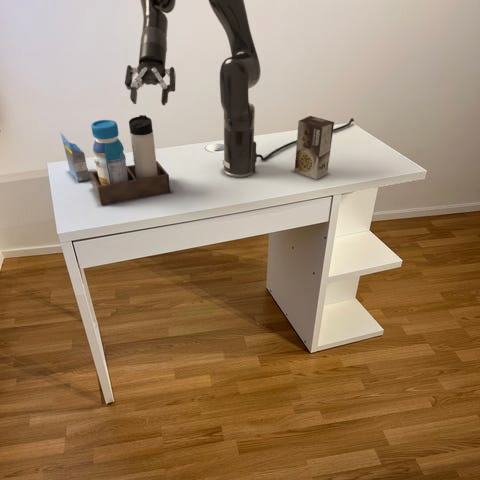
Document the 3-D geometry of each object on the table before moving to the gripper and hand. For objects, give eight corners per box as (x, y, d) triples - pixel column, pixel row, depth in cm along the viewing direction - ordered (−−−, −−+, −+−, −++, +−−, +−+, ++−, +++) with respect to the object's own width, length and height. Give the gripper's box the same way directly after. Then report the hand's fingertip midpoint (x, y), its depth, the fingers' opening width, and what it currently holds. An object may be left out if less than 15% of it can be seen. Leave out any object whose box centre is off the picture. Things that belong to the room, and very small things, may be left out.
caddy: (159, 178, 143) (157, 160, 140) (170, 192, 136) (168, 174, 132) (93, 189, 137) (89, 171, 133) (101, 205, 129) (97, 187, 125)
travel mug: (161, 183, 140) (154, 115, 127) (156, 193, 135) (148, 123, 122) (141, 182, 141) (132, 114, 127) (135, 192, 136) (125, 122, 122)
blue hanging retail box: (90, 179, 142) (82, 139, 134) (77, 182, 140) (68, 141, 132) (81, 169, 147) (72, 130, 139) (69, 172, 146) (59, 132, 138)
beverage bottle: (127, 200, 131) (116, 129, 118) (98, 200, 131) (83, 128, 118) (133, 187, 138) (123, 118, 125) (105, 187, 138) (92, 118, 125)
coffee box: (328, 173, 147) (335, 121, 137) (316, 180, 144) (323, 127, 133) (305, 165, 152) (310, 114, 141) (293, 171, 148) (298, 119, 138)
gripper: (125, 39, 130) (120, 95, 129) (175, 41, 129) (170, 97, 128) (132, 56, 137) (128, 109, 136) (179, 58, 137) (175, 111, 135)
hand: (148, 103), depth 132 cm, fingers open, 8 cm apart
